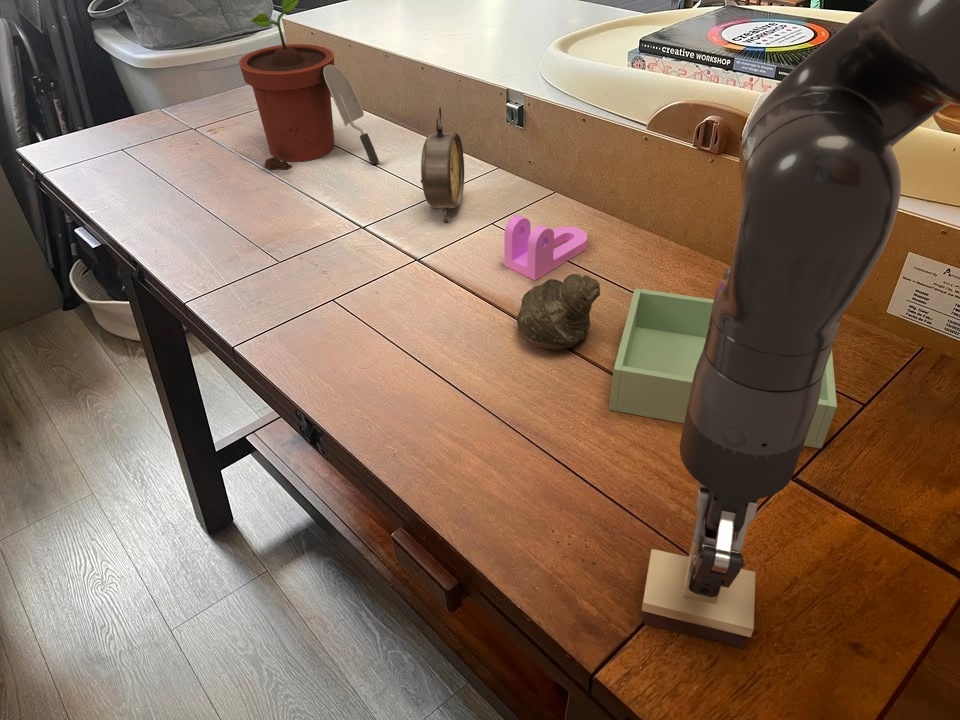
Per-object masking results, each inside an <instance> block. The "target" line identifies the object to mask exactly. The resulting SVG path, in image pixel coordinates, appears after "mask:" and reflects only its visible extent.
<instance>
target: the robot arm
mask: <svg viewBox="0 0 960 720" xmlns="http://www.w3.org/2000/svg"><path fill="white" fill-rule="evenodd" d="M949 105H957V106H960V0H877V1H875V2H874V3H873V4H871V5H870V6H869V7H868V8H866V9H865V10H863V11H862V12H861V13H859V14H858V15H856V16H855V17H854V18H853V19H852V20H850V21H849V22H848V23H847V24H845V25H844V26H842V27H841V28H840V29H839V30H838V31H837V32H836V33H835V34H833V35H832V36H831V37H830V38H828V39H827V40H826V41H825V42H824V43H822V44H821V45H820V46H819V47H817V48H816V49H815V50H814V51H813V52H812V53H810V54H809V55H808V56H807V57H806V58H805V59H803V60H802V61H801V62H800V63H799V64H798V65H797V66H795V68H794V69H792V70H791V71H790V72H789V73H788V74H787V75H786V76H785V77H784V78H783V79H782V80H781V81H780V82H779V83H777V85H776V86H775V87H774V88H773V90H772V91H771V92H770V93H769V94H768V95H767V96H766V98H765V99H764V100H763V101H762V103H761V104H760V105H759V107H757V109H756V111H755V112H754V114H753V115H752V117H751V118H750V119H749V122H748V124H747V126H746V128H745V130H744V132H743V135H742V138H741V141H740V145H739V154H738V157H739V158H738V159H739V161H738V163H739V174H740V190H741V202H740V203H741V204H740V210H739V211H740V212H739V220H738V227H737V232H736V239H735V245H734V249H733V254H732V259H731V263H730V265H729V266H728V267H727V268H726V270H725V271H724V273H723V274H722V276H721V278H720V280H719V282H718V285H717V288H716V291H715V293H714V294H715V295H714V298H713V299H714V302H713V305H712V312H711V316H710V321H709V326H708V331H707V336H706V340H705V344H704V347H703V351H702V353H701V356H700V358H699V360H698V363H697V366H696V369H695V373H694V377H693V382H692V386H691V391H690V396H689V401H688V406H687V411H686V416H685V421H684V424H683V426H682V431H681V435H680V441H679V455H680V459H681V462H682V464H683V466H684V467H685V469H686V471H687V472H688V473H689V474H690V475H691V476H692V478H693V479H695V481H697V482H698V486H697V493H696V500H695V510H696V515H695V519H694V524H693V529H692V530H693V531H692V541H694V542H695V543H697V547H696V552H695V553H693V560H694V564H693V568H692V572H691V576H690V580H689V590H690V591H691V592H693V593H694V594H699V595H703V596H707V597H711V598H713V597H716V596H718V594H719V591H720V587H721V586H722V587H726V588H729V587H730V585H731V584H732V582H733V581H734V580H735V578H736V577H737V575H738V574H739V572H740V570H741V569H742V568H744V563H745V559H743V557H744V556H743V553H741V552H742V550H743V548H744V544H745V540H746V536H747V533H748V530H749V526H750V524H751V523H752V522H753V521H755V518H756V514H757V510H758V506H759V500H761V499H764V498H767V497H771V496H773V495H776V494H777V493H780V491H782V490H784V488H786V487H787V486H788V485H789V483H790V482H791V480H792V479H793V476H794V474H795V471H796V468H797V466H798V462H799V459H800V456H801V454H802V451H803V448H804V446H803V445H804V443H805V440H806V437H807V434H808V431H809V428H810V425H811V422H812V419H813V417H814V414H815V411H816V408H817V405H818V401H819V397H820V392H821V384H822V378H823V374H824V370H825V368H826V365H827V362H828V359H829V356H830V353H831V350H832V351H833V347H834V345H835V341H836V338H837V335H838V333H839V329H840V325H841V322H842V321H841V320H842V316H843V315H844V313H845V312H846V310H847V309H848V308H849V307H850V305H851V304H852V302H853V301H854V300H855V299H856V297H857V295H858V294H859V292H860V291H861V289H862V287H863V286H864V284H865V282H866V281H867V279H868V278H869V276H870V274H871V272H872V271H873V270H874V268H875V266H876V264H877V263H878V261H879V259H880V257H881V255H882V254H883V252H884V250H885V248H886V245H887V244H888V241H889V239H890V236H891V233H892V230H893V227H894V225H895V221H896V218H897V214H898V210H899V205H900V199H901V192H902V177H901V168H900V165H899V162H898V159H897V156H896V154H895V152H894V150H893V147H895V145H896V144H898V143H899V142H900V141H901V140H902V139H904V138H905V137H907V135H909V134H910V133H911V132H913V131H914V130H915V129H917V128H918V127H920V126H921V125H922V124H924V123H925V122H927V121H928V120H929V119H931V118H932V117H933V116H935V115H936V114H938V113H939V112H940V111H942V110H943V109H944V108H946V107H948V106H949ZM704 519H705V525H704Z"/></svg>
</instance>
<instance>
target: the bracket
mask: <svg viewBox="0 0 960 720" xmlns="http://www.w3.org/2000/svg"><path fill="white" fill-rule="evenodd" d="M504 227H505V228H504V235H503V236H504V237H503V239H504V244H503V245H504V249H503V250H504V267H506V268H508V269H510V270H512V271H514V272H517V273H519V274H520V275H522V276H525V277H526V278H528V279H531V280H532V281H537V280H538V279H540V278H541V277H544V276H545V275H546V274H548V273H550V272H552V271H553V270H555V269H556V268H558V267H560V266H561V265H563V264H565V263H566V262H568V261H569V260H571V259H572V258H574V257H576V256H578V255H579V254H581V253H583V252H584V251H585V250H586V249H587V246H588V234H587V233H586V231H584V230H583V229H581V228H579V227H574V226H560V227H555V228H553V229H552V228H549V227H547V226H545V225H542V224H539V225H537V226H535V227H534V228H533V229H532V231H531V228H532V225H531V221H530V219H529V218H526V217H524V216H522V215H519V214H514V215H512V217H510V218H509V220H508V221H507V222H506V224H505V226H504Z"/></svg>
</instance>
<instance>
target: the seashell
mask: <svg viewBox="0 0 960 720" xmlns="http://www.w3.org/2000/svg"><path fill="white" fill-rule="evenodd" d="M600 296H601V284H600V283H599V281H598V280H597V279H595V278H593V277H591V276H589V275H588V274H587V275H586V274H584V275H583V276H582V275H580V274H577V273H570V275H568V276H566V277H565V278H563V280H562V281H561V280H558V279H553V278H548V279H547V280H545V281H544V282H543V283H541V284H538V285H535V286H533V287H532V288H531V289H529V290H527V292H526V293H524V294H523V296H522V298H521V305H520V309H519V312H518V313H517V314H516V324H517V332H519V333H520V334H521V336H523V338H524V339H525V340H526V341H528V342H529V343H530V344H531V345H533V346H535V347H537V348H543V349H546V350H553V351H558V350H565V349H569V348H572V347H574V346H575V345H576V344H577V343H580V342H581V341H582V340H583V339H585V338H586V336H587V335H588V332H589V329H590V326H591V320H590V312H591V310H592V307H593V303H594V302H595V301H596V299H598V298H599V297H600Z"/></svg>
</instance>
